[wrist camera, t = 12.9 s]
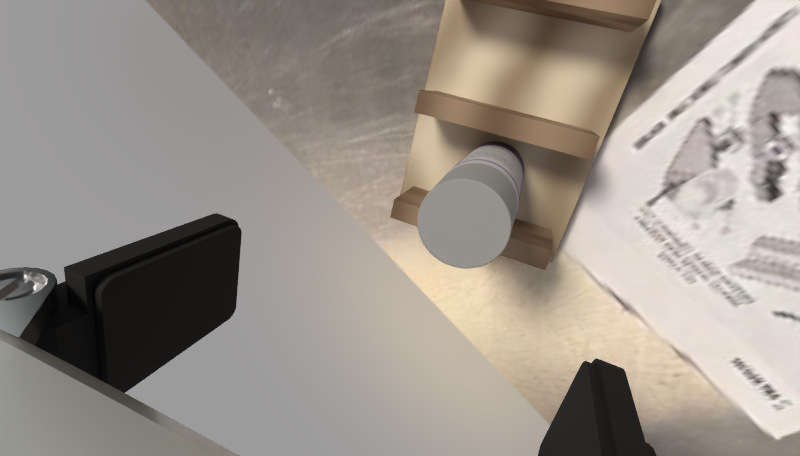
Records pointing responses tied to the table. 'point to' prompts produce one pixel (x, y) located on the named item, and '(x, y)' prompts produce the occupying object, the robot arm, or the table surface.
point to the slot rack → (525, 102)
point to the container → (473, 207)
